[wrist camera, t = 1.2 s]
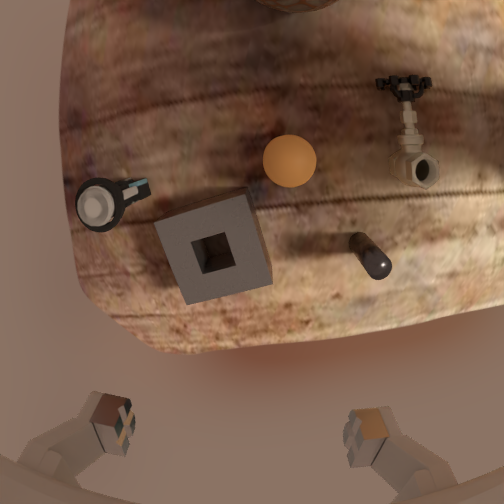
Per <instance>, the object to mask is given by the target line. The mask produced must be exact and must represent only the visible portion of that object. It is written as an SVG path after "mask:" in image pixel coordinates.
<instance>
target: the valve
mask: <svg viewBox="0 0 504 504" xmlns="http://www.w3.org/2000/svg"><path fill="white" fill-rule="evenodd" d="M375 81H376V87H377V89H378V90H385V89H384V86H385V87H388V88H390V91H392V92H393V94H394V96H396V97H397V100H398V102H401V103H402V105H403V111H400V121H401V123H404V129H402V135H397V137H398V144H401V149H400V150H399V151H397V152H396V153H394V154H393V155H392V156H390V157H389V168H390V174H392V175H393V176H395V177H397V178H398V179H399V180H400V181H401V182H402V183H404V184H405V185H408V186H411V187H417V186H419V187H421V188H424V189H428V188H429V187H431V186H432V185H434V184H435V183H436V182H437V181H438V180H439V163H438V161H437V160H436V159H434V158H433V157H431V156H430V155H428V154H426V153H425V152H422V148H421V145H422V144H424V138H423V135H419V134H418V129H416V128H415V127H414V123H417V115H416V111H412V107H411V102H415V98H420V97H421V96H422V95H423V93H424V89H430V87H432V81H431V78H430V77H422V78H419V76H418V75H409V76H408V77H399V76H397V75H392V76H389V79H385V78H378V79H375ZM417 87H419V92H418V93H414V91H416V90H417Z"/></svg>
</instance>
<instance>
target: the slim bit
mask: <svg viewBox="0 0 504 504" xmlns="http://www.w3.org/2000/svg"><path fill="white" fill-rule="evenodd" d="M349 247H350V249H351V250H352V251H353V253H354V254H355V256H356V257H357V258H358V260H359V261H360V263H361V264H362V265H363V267H364V268H365V270H366V271H367V273H368V274H369V275H370V277H371V278H373V279H375V280H381V279H384V278H385V277H387V276H388V275H389V273H390V272H391V269H392V263H391V261H390V259H389V258H388V257H387V256H386V255H385V254H384V253H383V252H382V251H381V249H380V248H379V247H378V246H377V245H376V244H375V243H374V242H373V241H372V240H371V239H370V238H369V237H368V236H367V235H366V234H365V233H362V232H357V233H355V234H353V235H352V236H351V238H350V240H349Z"/></svg>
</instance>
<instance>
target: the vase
mask: <svg viewBox="0 0 504 504" xmlns="http://www.w3.org/2000/svg"><path fill="white" fill-rule="evenodd" d="M255 1H257V2H258V3H260V4H262V5H264V6H267V7H269V8H272V9H275V10H279V11H283V12H292V13H302V12H311V11H316V10H320V9H323V8H325V7H327V6H330V5H332V4H334V3H336V2H337V1H339V0H255Z"/></svg>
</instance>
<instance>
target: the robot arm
mask: <svg viewBox="0 0 504 504" xmlns="http://www.w3.org/2000/svg"><path fill="white" fill-rule="evenodd" d="M131 407H132V404H131V400H130V399H129V398H124V397H120V396H115V395H110V394H106V393H101V392H97V391H93V392H91V393H90V395H89V396H88V398H87V400H86V402H85V404H84V405H83V407H82V409H81V411H80V413H79V414H78V416H77V418H72V419H70V420H68V421H66V422H64V423H62V424H60V425H59V426H57V427H55V428H53V429H51V430H49V431H47V432H45V433H43V434H41V435H39V436H38V437H36V438H34V439H32V440H30V441H29V442H28V444H27V445H26V447H25V449H24V450H23V452H22V454H21V455H20V457H19V459H18V461H17V462H15V461H13V460H10V459H9V458H7V457H5V456H3V455H1V454H0V504H139V503H135V502H130V501H126V500H122V499H118V498H114V497H110V496H106V495H103V494H99V493H96V492H93V491H89V490H86V489H83V488H81V486H80V484H79V483H78V481H77V480H76V478H75V476H77V475H78V474H79V473H81V472H82V471H83V470H85V469H86V468H87V467H88V466H90V465H91V464H92V463H94V462H95V461H96V460H97V459H98V458H100V457H101V456H102V455H104V454H105V453H110V454H114V455H119V456H125V455H126V453H127V450H128V447H129V440H128V438H130V437H131V436H133V433H134V430H135V415H134V413H133V412H132V411H131V410H130V409H131ZM348 417H349V422H347V423H346V425H345V427H344V430H343V441H344V446H345V447H346V448H347V449H349V451H348V454H347V457H348V461H349V465H350V468H355V467H366V466H371V468H373V469H374V470H375V471H376V472H377V473H378V474H379V475H380V476H381V477H382V478H383V479H384V480H385V481H386V482H387V483H388V484H389V485H391V487H393V488H394V489H395V490H396V491H397V492H398V493H399V494H398V495H397V496H396V497H395V499H394V500H393V501H392V502H391V504H504V466H503V467H500V468H498V469H496V470H494V471H491V472H489V473H487V474H484V475H482V476H479V477H477V478H474V479H472V480H469V481H466V482H464V483H461V484H458V483H457V481H456V479H455V476H454V474H453V472H452V470H451V468H450V466H449V464H448V462H447V461H445V460H443V459H442V458H440V457H439V456H437V455H436V454H434V453H433V452H431V451H430V450H428V449H427V448H425V447H424V446H422V445H421V444H419V443H417V442H416V441H414V440H413V439H412V438H410V437H409V436H407V435H402V433H401V430H400V428H399V426H398V423H397V421H396V419H395V417H394V415H393V412H392V410H391V408H390V407H389V406H385V407H376V408H365V409H354V410H351V411H350V413H349V416H348ZM104 452H105V453H104Z"/></svg>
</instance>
